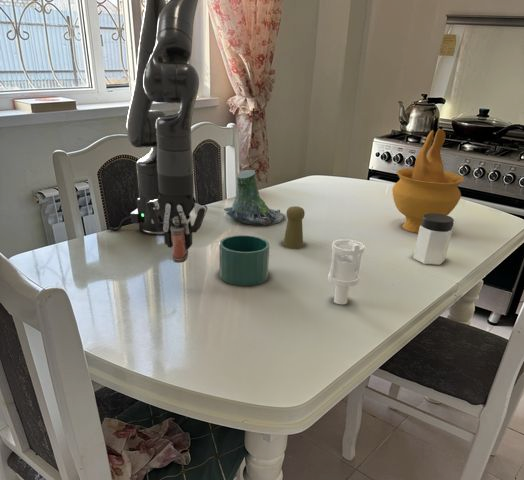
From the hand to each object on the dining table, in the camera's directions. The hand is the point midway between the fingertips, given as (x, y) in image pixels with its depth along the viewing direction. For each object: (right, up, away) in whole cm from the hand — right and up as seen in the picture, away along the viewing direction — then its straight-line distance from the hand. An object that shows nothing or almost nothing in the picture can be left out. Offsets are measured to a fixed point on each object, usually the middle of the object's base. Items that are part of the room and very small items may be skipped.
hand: (178, 247), depth 116 cm
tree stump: (+17, +20, +52) cm, 58 cm away
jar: (+67, +2, +27) cm, 72 cm away
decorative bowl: (+71, +16, +50) cm, 88 cm away
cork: (+28, +7, +32) cm, 43 cm away
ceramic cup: (+15, -5, +12) cm, 19 cm away
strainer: (+38, -13, +1) cm, 40 cm away
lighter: (0, -2, +1) cm, 2 cm away
